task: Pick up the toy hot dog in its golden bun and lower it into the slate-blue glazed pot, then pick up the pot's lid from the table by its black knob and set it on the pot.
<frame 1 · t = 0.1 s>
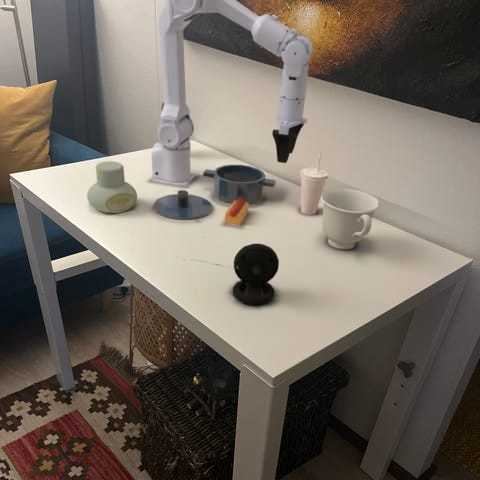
hand: (285, 157, 120), 10 cm above the table, tool pointing down, fingers open, 7 cm apart
pot: (238, 197, 124), on the table
sauce bottle: (172, 155, 147), on the table
webcam: (253, 295, 89), on the table
smoothie: (308, 212, 120), on the table
teacup: (343, 247, 107), on the table
pot lid: (182, 207, 116), point 1 cm above the table
air freshener: (113, 209, 114), on the table
hot dog: (236, 219, 114), on the table
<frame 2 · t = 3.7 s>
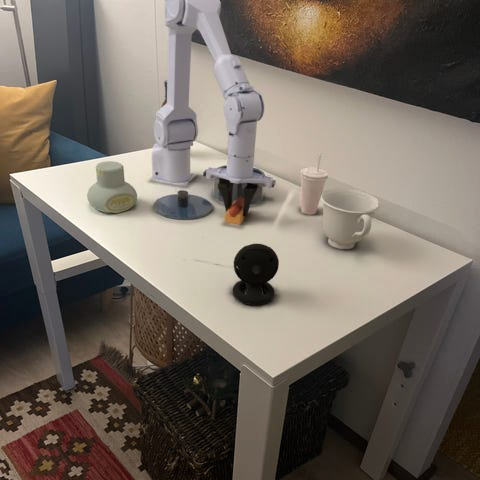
hand: (236, 213, 113), 1 cm above the table, tool pointing down, fingers closed on hot dog, 3 cm apart
hot dog: (236, 219, 114), on the table, touching gripper
everything else where it was.
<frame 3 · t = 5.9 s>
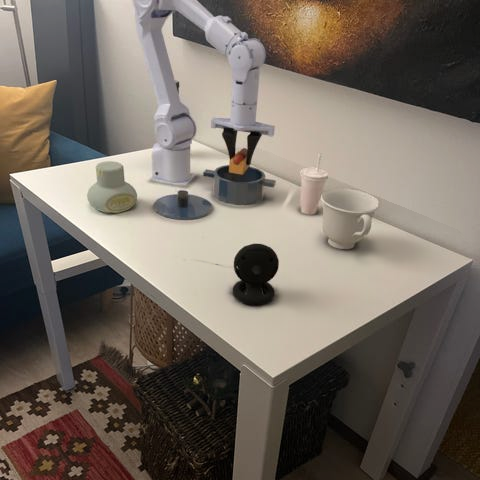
hand: (240, 162, 118), 9 cm above the table, tool pointing down, fingers closed on hot dog, 3 cm apart
hot dog: (240, 168, 119), point 8 cm above the table, touching gripper
everything else where it was.
when the fingers open (2 cm above the table, at t = 8.1 s): hot dog stays where it is, resting on pot.
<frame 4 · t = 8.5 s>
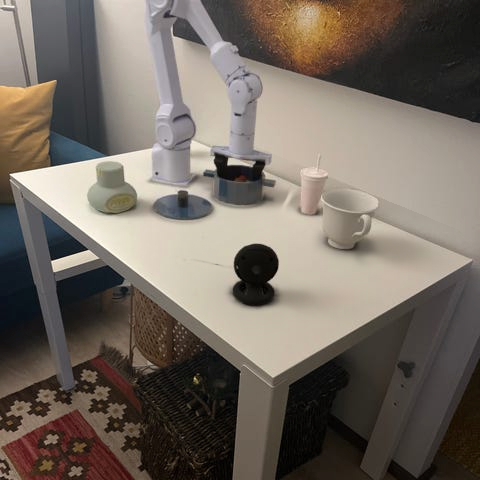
hand: (238, 188, 123), 2 cm above the table, tool pointing down, fingers open, 7 cm apart
hot dog: (238, 195, 124), resting on pot
everything else where it was.
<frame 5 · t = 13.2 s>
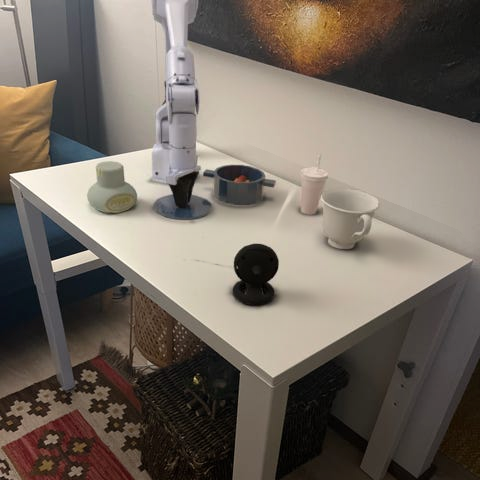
hand: (182, 204, 115), 1 cm above the table, tool pointing down, fingers closed on pot lid, 2 cm apart
pot lid: (182, 207, 116), point 1 cm above the table, touching gripper
everything else where it was.
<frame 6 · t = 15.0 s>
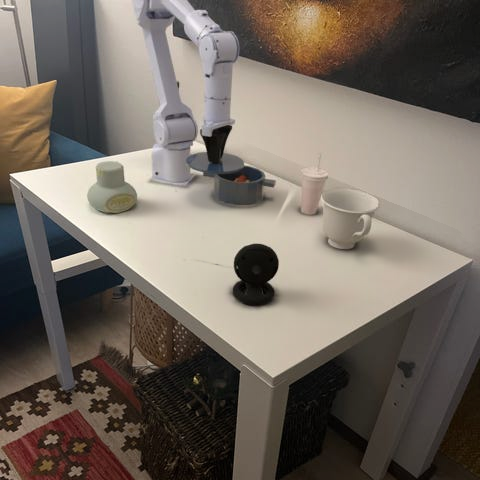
hand: (215, 159, 115), 10 cm above the table, tool pointing down, fingers closed on pot lid, 2 cm apart
pot lid: (215, 163, 115), point 10 cm above the table, touching gripper
everything else where it was.
when the fingers open (7 cm above the table, at t = 16.9 s): pot lid stays where it is, resting on pot.
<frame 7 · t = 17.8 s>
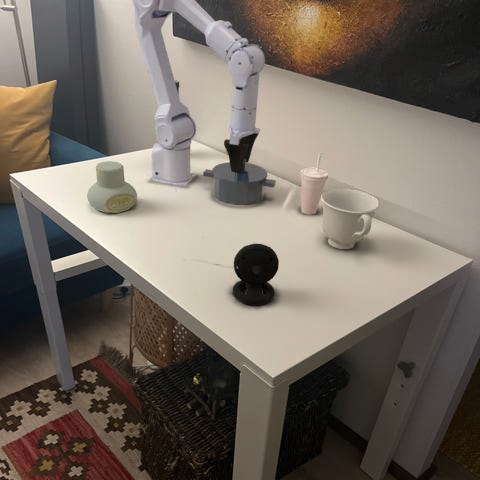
hand: (240, 166, 120), 8 cm above the table, tool pointing down, fingers open, 7 cm apart
pot lid: (239, 173, 121), point 6 cm above the table, touching pot
everything else where it was.
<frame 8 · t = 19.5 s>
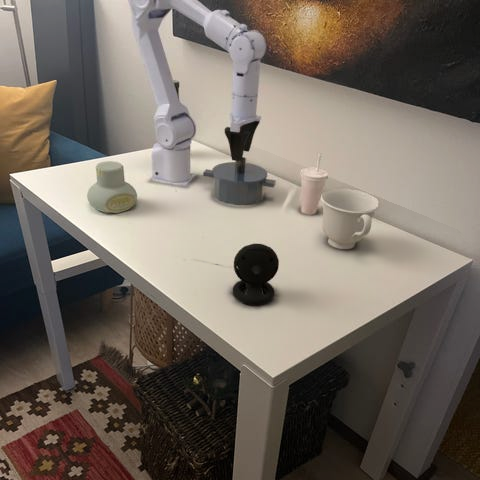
hand: (240, 155, 118), 10 cm above the table, tool pointing down, fingers open, 7 cm apart
nothing on the table moved.
at the end: hot dog inside the target area in the pot (0.1 cm from its centre), point 0.5 cm above the pot's base; pot lid 0.1 cm off-centre on the pot, point 6.0 cm above the pot's base; pot lid tilted 0° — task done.
